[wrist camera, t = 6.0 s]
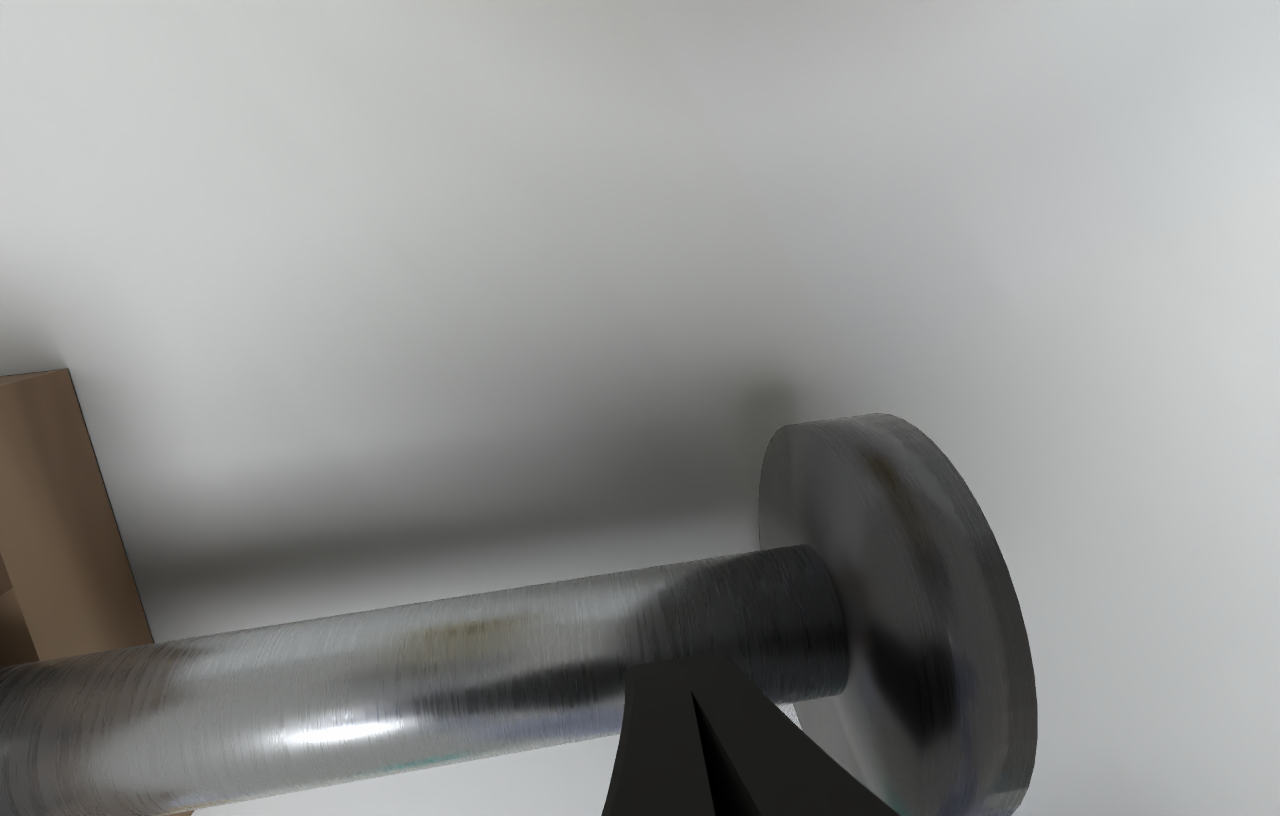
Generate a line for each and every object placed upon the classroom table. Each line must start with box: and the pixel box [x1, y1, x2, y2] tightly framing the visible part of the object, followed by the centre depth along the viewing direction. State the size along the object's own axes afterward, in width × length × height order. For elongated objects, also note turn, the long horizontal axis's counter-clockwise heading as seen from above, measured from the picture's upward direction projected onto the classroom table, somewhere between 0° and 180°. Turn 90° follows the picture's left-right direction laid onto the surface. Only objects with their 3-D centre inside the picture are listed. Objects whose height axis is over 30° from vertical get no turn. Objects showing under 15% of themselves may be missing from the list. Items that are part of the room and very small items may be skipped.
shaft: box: [0, 413, 1037, 816], centre depth 10 cm, size 18×6×6 cm, turn 96°
